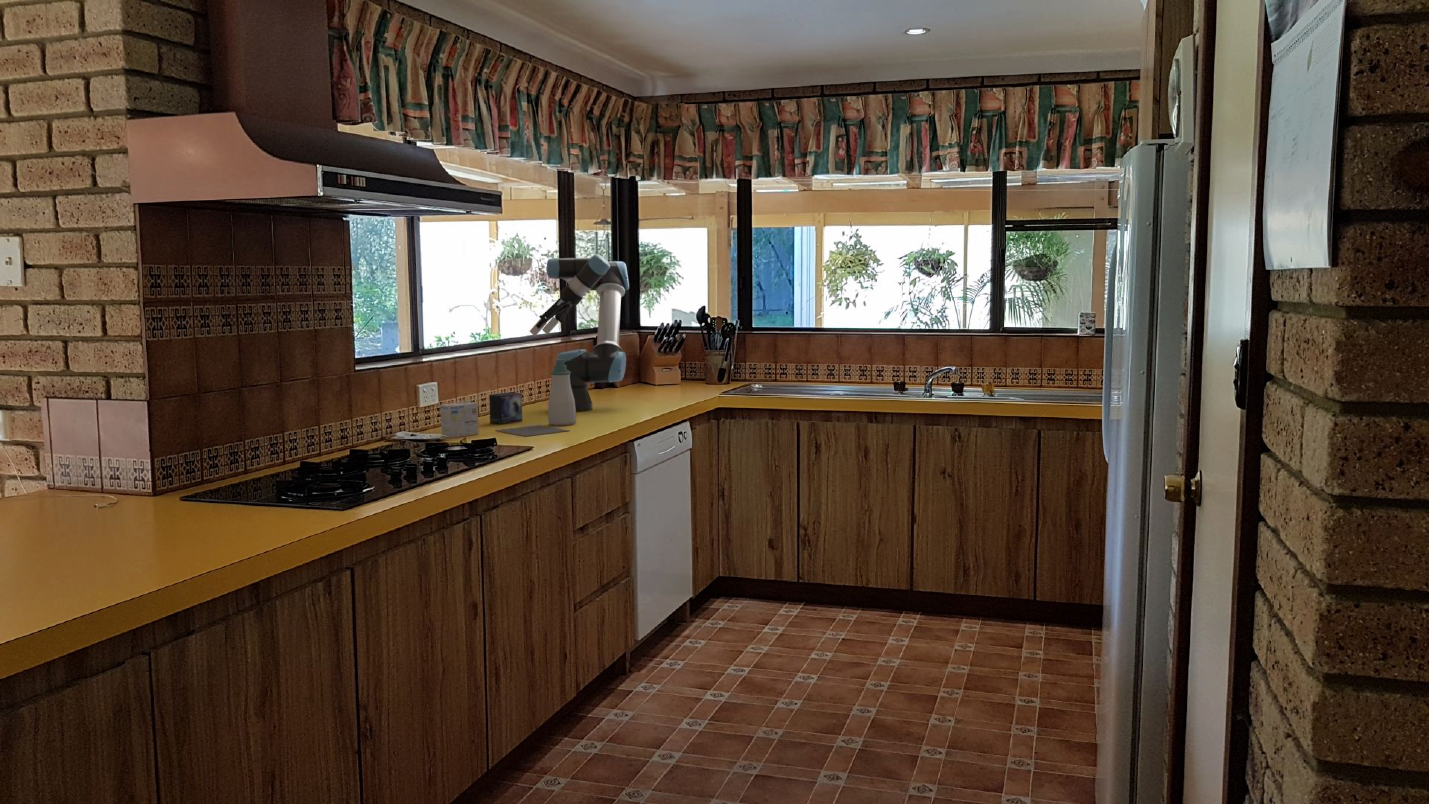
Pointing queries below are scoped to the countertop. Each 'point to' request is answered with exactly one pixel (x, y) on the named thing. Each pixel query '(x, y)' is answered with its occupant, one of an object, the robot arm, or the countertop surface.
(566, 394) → the soap bottle
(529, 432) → the charcoal mat
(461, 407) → the light bulb box
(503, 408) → the small box
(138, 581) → the countertop surface
